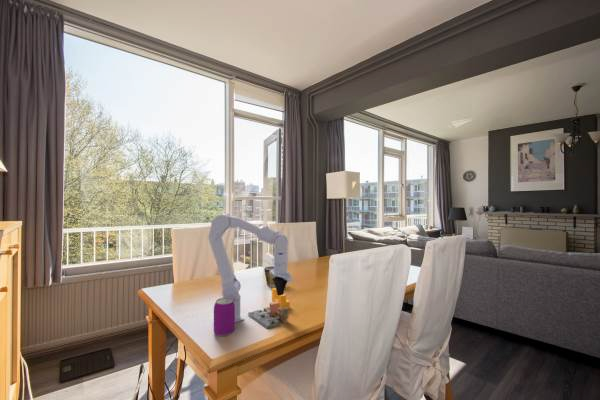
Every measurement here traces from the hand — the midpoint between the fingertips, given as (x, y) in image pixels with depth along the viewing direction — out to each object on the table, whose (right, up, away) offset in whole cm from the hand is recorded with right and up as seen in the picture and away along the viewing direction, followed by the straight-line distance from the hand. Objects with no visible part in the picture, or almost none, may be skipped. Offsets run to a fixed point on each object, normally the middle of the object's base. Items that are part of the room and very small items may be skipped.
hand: (280, 294), depth 122 cm
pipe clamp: (-1, -10, +15) cm, 19 cm away
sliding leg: (-5, -8, 0) cm, 10 cm away
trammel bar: (-5, -10, 0) cm, 11 cm away
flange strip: (-7, -10, -2) cm, 12 cm away
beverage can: (-20, -10, -13) cm, 26 cm away
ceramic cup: (-7, -10, +47) cm, 49 cm away
